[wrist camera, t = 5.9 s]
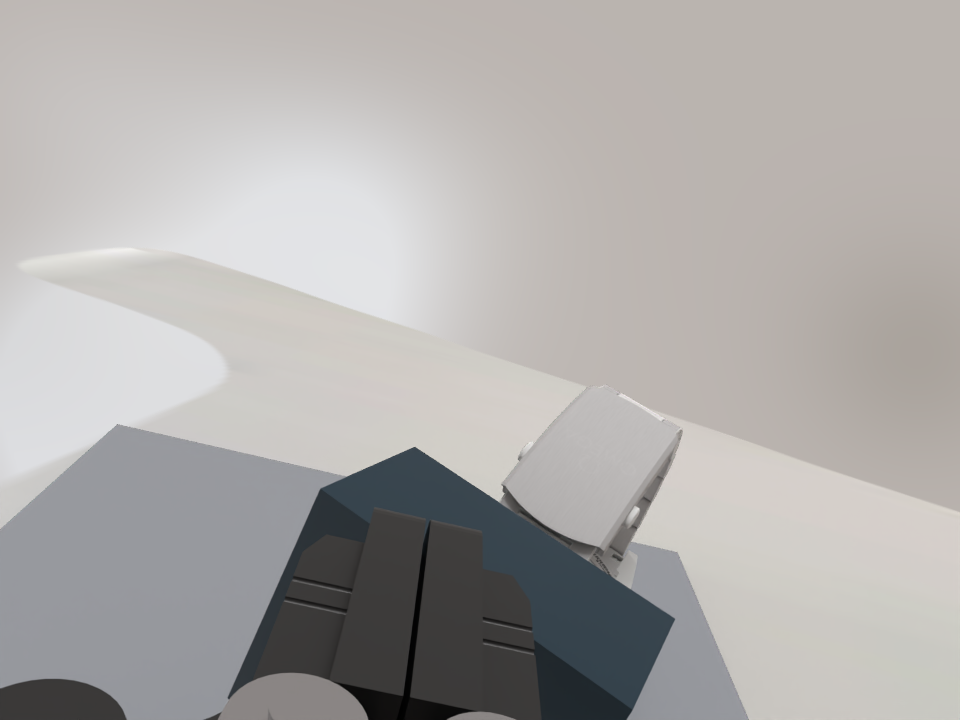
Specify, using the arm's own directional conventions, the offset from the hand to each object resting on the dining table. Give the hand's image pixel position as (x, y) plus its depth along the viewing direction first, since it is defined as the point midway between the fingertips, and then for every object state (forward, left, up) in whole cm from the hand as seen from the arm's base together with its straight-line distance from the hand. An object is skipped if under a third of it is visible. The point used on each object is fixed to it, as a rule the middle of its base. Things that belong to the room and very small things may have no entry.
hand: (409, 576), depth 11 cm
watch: (0, 0, -3) cm, 3 cm away
